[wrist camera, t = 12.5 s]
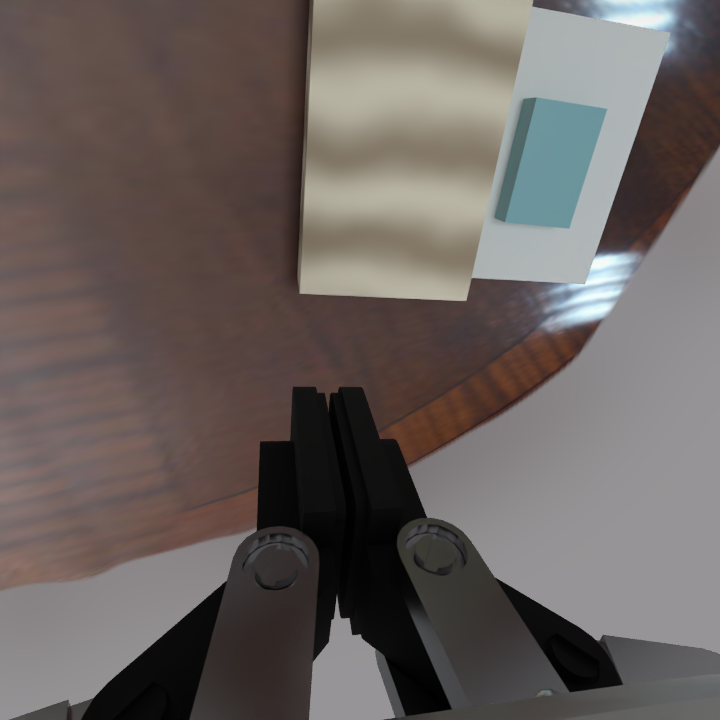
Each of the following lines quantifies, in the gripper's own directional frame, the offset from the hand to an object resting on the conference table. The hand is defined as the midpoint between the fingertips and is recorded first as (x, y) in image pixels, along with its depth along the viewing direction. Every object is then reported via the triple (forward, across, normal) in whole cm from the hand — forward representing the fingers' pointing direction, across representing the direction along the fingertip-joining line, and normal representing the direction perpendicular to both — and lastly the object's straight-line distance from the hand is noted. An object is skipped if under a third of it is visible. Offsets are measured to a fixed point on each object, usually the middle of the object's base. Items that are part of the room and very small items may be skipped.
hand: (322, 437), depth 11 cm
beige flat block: (+29, -8, -6) cm, 31 cm away
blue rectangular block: (+27, -21, -6) cm, 34 cm away
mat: (+29, -22, -6) cm, 37 cm away
